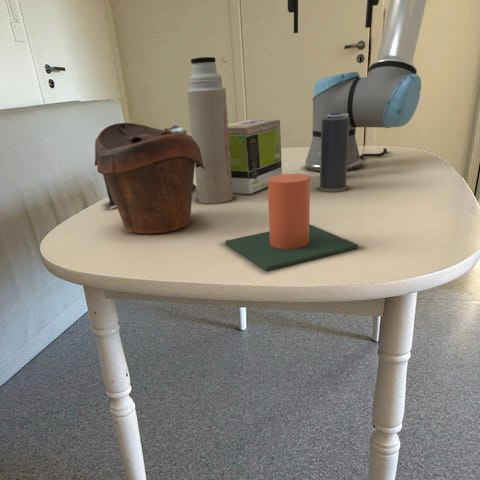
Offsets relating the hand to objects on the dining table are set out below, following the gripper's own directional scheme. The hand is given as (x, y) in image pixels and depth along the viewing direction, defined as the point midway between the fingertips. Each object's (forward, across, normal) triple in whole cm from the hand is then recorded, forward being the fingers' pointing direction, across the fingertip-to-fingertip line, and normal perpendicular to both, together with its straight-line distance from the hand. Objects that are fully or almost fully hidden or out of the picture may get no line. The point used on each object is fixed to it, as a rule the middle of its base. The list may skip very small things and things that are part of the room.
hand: (331, 30), depth 86 cm
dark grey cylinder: (+31, +2, +2) cm, 31 cm away
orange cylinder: (+28, -7, -37) cm, 47 cm away
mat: (+28, -7, -37) cm, 47 cm away
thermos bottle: (+31, -25, -5) cm, 40 cm away
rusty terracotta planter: (+31, -41, -1) cm, 51 cm away
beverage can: (+32, +3, +15) cm, 36 cm away
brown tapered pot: (+30, -32, -24) cm, 50 cm away
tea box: (+32, -18, +7) cm, 37 cm away
